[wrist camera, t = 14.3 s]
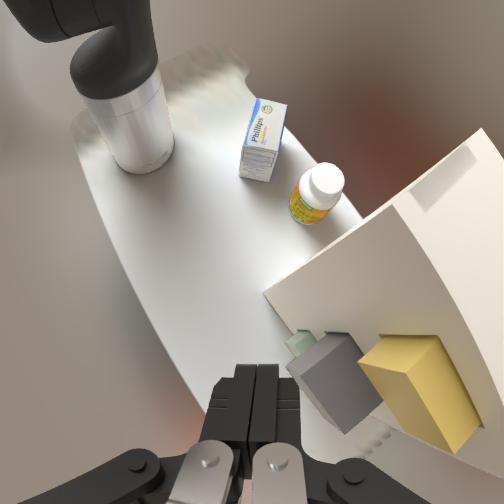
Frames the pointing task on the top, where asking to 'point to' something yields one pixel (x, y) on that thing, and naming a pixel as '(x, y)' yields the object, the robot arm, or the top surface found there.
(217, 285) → the top surface
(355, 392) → the charcoal key
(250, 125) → the medicine box
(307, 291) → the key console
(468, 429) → the tan square block
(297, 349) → the sage key
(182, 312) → the top surface
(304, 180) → the supplement bottle
